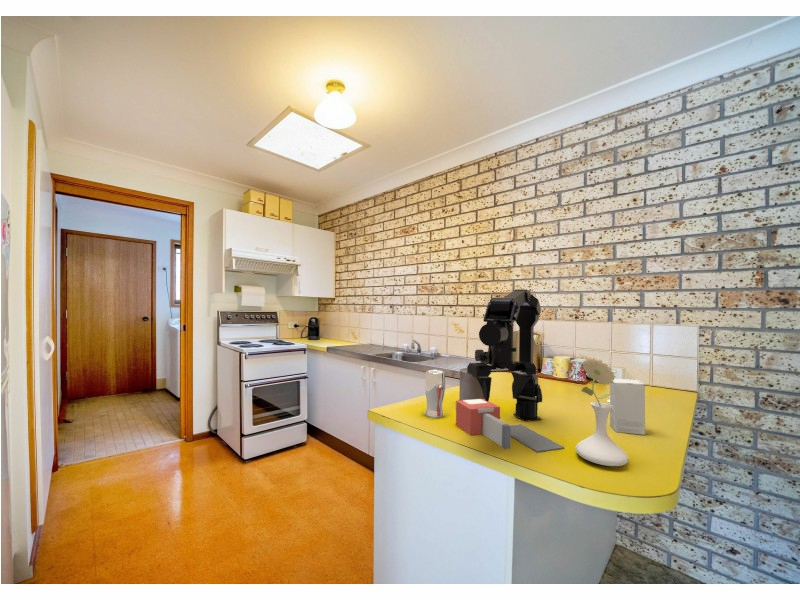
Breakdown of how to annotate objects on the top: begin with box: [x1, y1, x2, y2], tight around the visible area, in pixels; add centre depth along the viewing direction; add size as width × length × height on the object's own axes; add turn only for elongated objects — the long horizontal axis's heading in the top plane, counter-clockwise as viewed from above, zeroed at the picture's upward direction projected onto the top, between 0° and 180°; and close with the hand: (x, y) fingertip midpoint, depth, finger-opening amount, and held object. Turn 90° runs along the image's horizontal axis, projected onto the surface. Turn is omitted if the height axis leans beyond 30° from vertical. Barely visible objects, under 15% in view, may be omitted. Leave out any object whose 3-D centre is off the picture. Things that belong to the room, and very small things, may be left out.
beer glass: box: [424, 369, 446, 419], centre depth 116 cm, size 7×7×15 cm
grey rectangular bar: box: [481, 412, 511, 450], centre depth 98 cm, size 2×17×6 cm, turn 18°
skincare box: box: [609, 377, 646, 436], centre depth 105 cm, size 8×7×16 cm
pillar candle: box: [458, 367, 485, 401], centre depth 127 cm, size 10×10×15 cm
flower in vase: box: [574, 357, 629, 467], centre depth 85 cm, size 13×11×25 cm
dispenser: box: [455, 399, 501, 436], centre depth 104 cm, size 10×9×8 cm
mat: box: [509, 424, 566, 453], centre depth 97 cm, size 9×18×1 cm, turn 18°
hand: (501, 399), depth 93 cm, fingers open, 9 cm apart
